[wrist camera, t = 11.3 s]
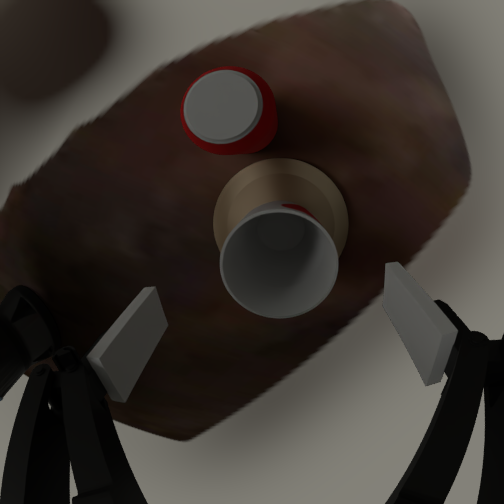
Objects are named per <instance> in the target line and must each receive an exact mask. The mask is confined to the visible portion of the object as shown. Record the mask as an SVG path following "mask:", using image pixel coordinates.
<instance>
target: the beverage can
mask: <svg viewBox="0 0 504 504" xmlns="http://www.w3.org/2000/svg"><path fill="white" fill-rule="evenodd" d="M181 121H182V125H183V128H184V130H185V132H186V134H187V135H188V137H189V138H190V139H191V140H192V141H193V142H194V143H195V144H196V145H197V146H198V147H200V148H202V149H203V150H205V151H208V152H210V153H214V154H219V155H235V154H249V153H254V152H257V151H259V150H261V149H263V148H265V147H266V146H267V145H268V144H269V143H270V142H271V141H272V140H273V138H274V136H275V134H276V132H277V128H278V117H277V110H276V104H275V99H274V95H273V93H272V91H271V89H270V87H269V86H268V84H267V83H266V82H265V81H264V80H263V79H262V78H261V77H260V76H259V75H257V74H256V73H254V72H252V71H250V70H248V69H245V68H241V67H234V66H227V67H219V68H216V69H213V70H210V71H208V72H206V73H204V74H202V75H201V76H200V77H198V78H197V79H196V80H195V81H194V82H193V83H192V84H191V85H190V86H189V88H188V89H187V91H186V93H185V95H184V97H183V100H182V104H181Z"/></svg>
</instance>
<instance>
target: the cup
mask: <svg viewBox="0 0 504 504" xmlns="http://www.w3.org/2000/svg"><path fill="white" fill-rule="evenodd" d="M220 272H221V276H222V280H223V282H224V285H225V287H226V288H227V290H228V292H229V293H230V295H231V296H232V297H233V298H234V299H235V300H236V301H237V302H238V303H239V304H240V305H241V306H243V307H244V308H246V309H247V310H249V311H251V312H253V313H255V314H258V315H261V316H264V317H269V318H290V317H295V316H298V315H301V314H304V313H306V312H308V311H310V310H312V309H313V308H315V307H316V306H318V305H319V304H320V303H321V302H322V301H323V300H324V299H325V298H326V297H327V295H328V294H329V293H330V291H331V290H332V288H333V286H334V283H335V281H336V278H337V273H338V255H337V251H336V247H335V245H334V242H333V240H332V239H331V237H330V235H329V234H328V232H327V231H326V230H325V228H324V227H323V226H322V225H321V223H320V222H319V221H318V219H317V218H316V217H315V216H314V215H313V214H312V213H311V212H310V211H308V210H307V209H305V208H304V207H302V206H300V205H297V204H295V203H292V202H289V201H272V202H268V203H265V204H262V205H260V206H258V207H256V208H254V209H253V210H251V211H250V212H249V213H248V214H247V215H246V216H245V217H244V218H243V219H242V220H241V221H240V222H239V223H238V224H237V225H236V226H235V227H234V229H233V230H232V231H231V232H230V233H229V235H228V236H227V238H226V240H225V242H224V244H223V247H222V250H221V255H220Z"/></svg>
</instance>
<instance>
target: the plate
mask: <svg viewBox="0 0 504 504" xmlns="http://www.w3.org/2000/svg"><path fill="white" fill-rule="evenodd" d="M272 201H289V202H292V203H295V204H297V205H300V206H302V207H304V208H305V209H307V210H308V211H310V212H311V213H312V214H313V215H314V216H315V217H316V218H317V219H318V221H319V222H320V223H321V225H322V226H323V227H324V228H325V230H326V231H327V232H328V234H329V235H330V237H331V239H332V240H333V242H334V245H335V247H336V251H337V255H338V258H339V257H340V255H341V253H342V251H343V249H344V247H345V244H346V240H347V236H348V226H349V220H348V212H347V208H346V204H345V202H344V199H343V197H342V195H341V193H340V191H339V190H338V188H337V187H336V185H335V184H334V183H333V182H332V180H331V179H330V178H329V177H327V176H326V175H325V174H324V173H323V172H321V171H320V170H319V169H317V168H315V167H313V166H312V165H310V164H307V163H305V162H302V161H299V160H294V159H289V158H272V159H267V160H262V161H259V162H256V163H254V164H252V165H250V166H248V167H246V168H244V169H243V170H241V171H240V172H238V173H237V174H236V175H235V176H234V177H233V178H232V179H231V180H230V181H229V182H228V183H227V184H226V186H225V187H224V189H223V190H222V192H221V194H220V196H219V198H218V200H217V203H216V207H215V211H214V218H213V228H214V236H215V239H216V243H217V246H218V248H219V251H220V252H221V250H222V247H223V244H224V242H225V240H226V238H227V236H228V235H229V233H230V232H231V231H232V230H233V229H234V227H235V226H236V225H237V224H238V223H239V222H240V221H241V220H242V219H243V218H244V217H245V216H246V215H247V214H248V213H249V212H250V211H251V210H253V209H254V208H256V207H258V206H260V205H262V204H265V203H268V202H272Z"/></svg>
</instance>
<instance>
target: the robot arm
mask: <svg viewBox="0 0 504 504" xmlns="http://www.w3.org/2000/svg"><path fill="white" fill-rule="evenodd" d="M383 308H384V309H385V311H386V313H387V315H388V316H389V318H390V320H391V321H392V323H393V325H394V327H395V329H396V330H397V332H398V334H399V336H400V337H401V339H402V341H403V343H404V345H405V347H406V349H407V350H408V352H409V354H410V356H411V358H412V360H413V362H414V364H415V366H416V368H417V370H418V372H419V374H420V376H421V378H422V380H423V382H424V384H425V386H428V385H432V384H435V383H438V382H441V379H442V377H443V374H444V372H445V374H446V375H447V377H448V379H447V382H446V385H445V386H444V389H443V391H442V393H441V398H440V401H439V403H438V406H437V408H436V411H435V413H434V416H433V418H432V420H431V423H430V425H429V427H428V429H427V432H426V434H425V436H424V438H423V440H422V442H421V444H420V446H419V448H418V450H417V452H416V454H415V456H414V458H413V459H412V461H411V463H410V465H409V467H408V468H407V470H406V472H405V474H404V475H403V477H402V478H401V480H400V482H399V483H398V485H397V487H396V488H395V490H394V491H393V493H392V494H391V496H390V497H389V499H388V500H387V502H386V503H385V504H444V501H445V499H446V497H447V495H448V493H449V491H450V489H451V487H452V485H453V482H454V480H455V478H456V476H457V473H458V471H459V468H460V466H461V463H462V460H463V458H464V455H465V453H466V450H467V447H468V444H469V441H470V438H471V435H472V431H473V428H474V425H475V421H476V417H477V414H478V409H479V406H480V401H481V397H482V392H483V387H484V401H485V443H484V457H483V468H482V477H481V483H480V490H479V495H478V501H477V504H504V334H503V337H502V339H501V340H489V339H488V337H487V336H486V335H484V334H483V333H481V332H478V331H470V330H469V329H468V327H467V326H466V325H465V324H464V323H463V321H462V320H461V319H460V318H459V317H458V316H457V315H456V313H455V312H454V311H453V310H452V309H451V308H450V307H449V306H448V304H446V303H444V302H443V301H441V300H435V301H433V300H432V299H431V298H430V296H429V295H428V294H427V293H426V292H425V291H424V290H423V288H422V287H421V286H420V285H419V284H418V283H417V282H416V281H415V280H414V279H413V278H412V277H411V275H410V274H409V273H408V272H407V271H406V270H405V269H404V268H403V267H402V266H401V265H400V264H399V263H398V262H392V263H386V264H385V283H384V297H383ZM167 326H168V323H167V320H166V318H165V315H164V312H163V309H162V306H161V303H160V299H159V296H158V293H157V290H156V287H145V288H144V289H143V290H142V291H141V292H140V293H139V294H138V296H137V297H136V298H135V299H134V300H133V301H132V302H131V304H130V305H129V306H128V307H127V308H126V309H125V311H124V312H123V313H122V314H121V315H120V317H119V318H118V319H117V320H116V321H115V322H114V324H113V325H112V326H111V327H110V329H108V330H106V331H105V332H104V333H102V334H101V335H100V336H99V337H98V339H97V340H96V341H95V342H94V344H93V346H91V347H90V348H89V350H88V351H87V352H86V353H85V355H84V356H83V357H82V358H81V359H80V357H79V355H78V353H77V352H76V350H75V348H74V347H73V346H65V347H62V348H60V344H61V339H60V334H59V331H58V328H57V325H56V323H55V321H54V319H53V317H52V315H51V314H50V312H49V311H48V309H47V308H46V306H45V305H44V303H43V302H42V301H41V300H40V299H39V297H38V296H37V295H36V294H35V293H33V292H32V291H31V290H30V289H28V288H26V287H24V286H20V285H19V286H16V287H14V288H13V289H12V290H10V291H9V292H8V293H7V294H6V296H5V298H4V299H3V301H2V302H1V304H0V401H1V400H2V399H3V397H4V396H5V394H6V393H7V392H8V391H9V390H10V389H11V387H12V386H13V385H14V384H15V383H16V382H17V380H18V379H19V378H20V377H21V376H22V375H23V374H24V372H25V371H26V370H27V369H28V368H29V367H30V366H31V365H33V364H36V363H38V362H40V361H42V360H45V359H47V358H49V357H51V356H52V355H53V357H52V359H53V361H54V363H55V364H56V366H57V368H58V369H59V371H52V369H51V367H50V366H49V365H48V364H41V365H38V366H36V367H35V368H34V369H33V370H32V372H31V374H30V377H29V380H28V382H27V385H26V388H25V391H24V393H23V397H22V399H21V402H20V406H19V409H18V413H17V416H16V419H15V422H14V426H13V430H12V434H11V438H10V442H9V446H8V451H7V457H6V461H5V466H4V472H3V479H2V487H1V496H0V504H70V489H69V488H70V462H71V466H72V471H73V475H74V479H75V483H76V487H77V490H78V495H77V496H75V497H73V498H72V504H148V503H147V501H146V499H145V498H144V495H143V493H142V492H141V489H140V487H139V485H138V483H137V481H136V479H135V477H134V474H133V472H132V470H131V468H130V466H129V463H128V460H127V458H126V456H125V453H124V451H123V448H122V445H121V443H120V440H119V438H118V434H117V432H116V429H115V426H114V423H113V420H112V416H111V413H110V410H109V407H108V403H107V401H106V400H105V398H104V396H105V395H106V393H108V394H109V396H110V397H111V399H112V400H113V401H118V402H124V403H125V402H126V400H127V398H128V396H129V394H130V393H131V391H132V389H133V387H134V385H135V383H136V382H137V380H138V378H139V376H140V374H141V372H142V371H143V369H144V367H145V365H146V363H147V362H148V360H149V358H150V356H151V355H152V353H153V351H154V349H155V347H156V346H157V344H158V342H159V340H160V339H161V337H162V335H163V333H164V332H165V330H166V328H167ZM59 348H60V349H59ZM58 349H59V350H58ZM48 403H49V404H50V405H51V409H49V406H48Z"/></svg>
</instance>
